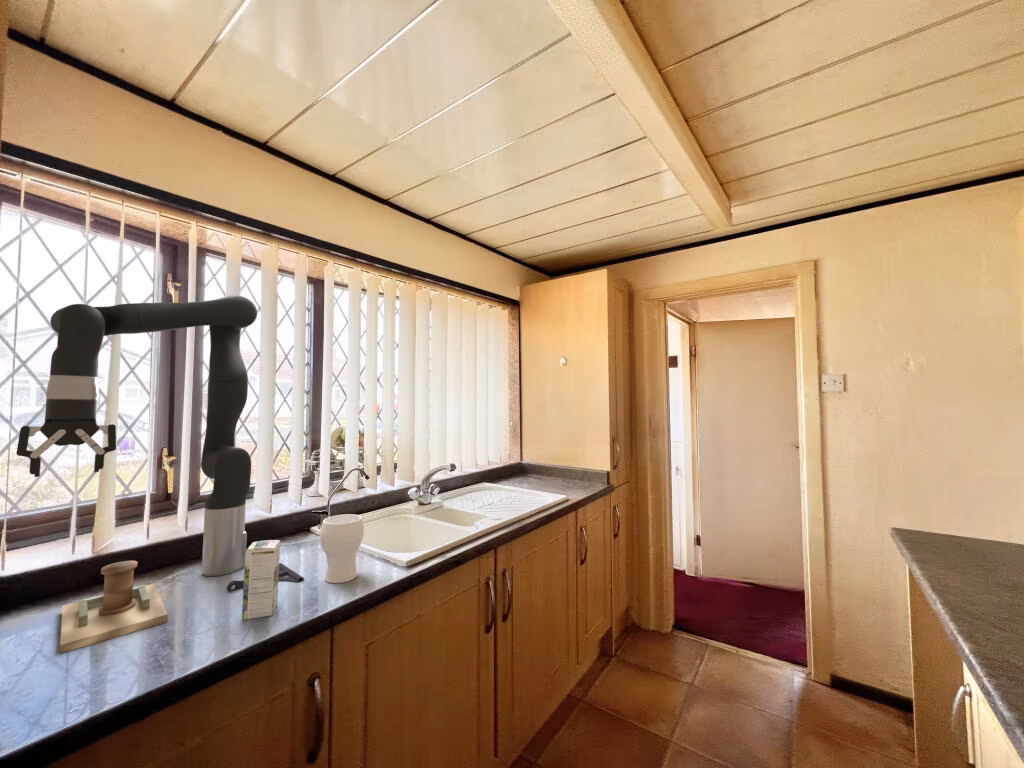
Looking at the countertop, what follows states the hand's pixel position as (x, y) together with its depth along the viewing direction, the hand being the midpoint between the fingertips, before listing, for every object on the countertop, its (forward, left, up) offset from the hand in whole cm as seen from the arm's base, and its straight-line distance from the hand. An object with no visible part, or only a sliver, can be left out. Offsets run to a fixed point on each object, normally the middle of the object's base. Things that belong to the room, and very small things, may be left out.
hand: (67, 474), depth 87 cm
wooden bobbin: (-8, +7, -29) cm, 31 cm away
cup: (-50, +22, -30) cm, 62 cm away
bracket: (-35, +10, -31) cm, 48 cm away
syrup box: (-30, +27, -30) cm, 50 cm away
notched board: (-8, +7, -30) cm, 32 cm away
